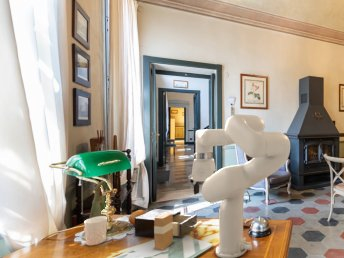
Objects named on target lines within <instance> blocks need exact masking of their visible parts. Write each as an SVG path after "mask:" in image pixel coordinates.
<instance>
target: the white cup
mask: <svg viewBox="0 0 344 258" xmlns="http://www.w3.org/2000/svg"><path fill="white" fill-rule="evenodd" d="M83 225H84V227H83V228H84V239H85V245H86V246H96V245H100V244H102V243H104V242H105V241H106V240H107V232H108V231H107V217H106V216H98V217H93V218H90V219H89V218H87V219H86V220H84V222H83Z"/></svg>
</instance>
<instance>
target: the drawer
mask: <svg viewBox="0 0 344 258" xmlns="http://www.w3.org/2000/svg"><path fill="white" fill-rule="evenodd" d="M202 224H203V221H201V220H200V221H198V214H194V215H189V214H181V215H180V214H177V215H175V216H173V237H178V238H179V239H183V238H184V237H186V236H187V235H188V234H189V233H191V232H193V231H194V230H196V229H197V228H198V227H199V226H201V225H202Z"/></svg>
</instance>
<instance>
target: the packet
mask: <svg viewBox="0 0 344 258" xmlns="http://www.w3.org/2000/svg"><path fill="white" fill-rule="evenodd" d="M153 239H154V250H161V251H162V250H165V249H166V248H168V247H169V246H170V245H172V244H173V243H174V236H173V213H163V214H161V215H159V216H157V217H155V218H154V238H153Z"/></svg>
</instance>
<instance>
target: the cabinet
mask: <svg viewBox="0 0 344 258" xmlns="http://www.w3.org/2000/svg"><path fill="white" fill-rule="evenodd" d="M163 213H173V216H175V215H177V214H180V215H182V214H181V213H182V212H181V210H175V209H174V210H173V209H163V208H154V209H152V210H150V211H148V212H146V213H145V214H143V215H141V216H138V217H136V218H135V225H134V236H135V237H141V238H150V239H154V218H155V217H157V216H159V215H161V214H163Z"/></svg>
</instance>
